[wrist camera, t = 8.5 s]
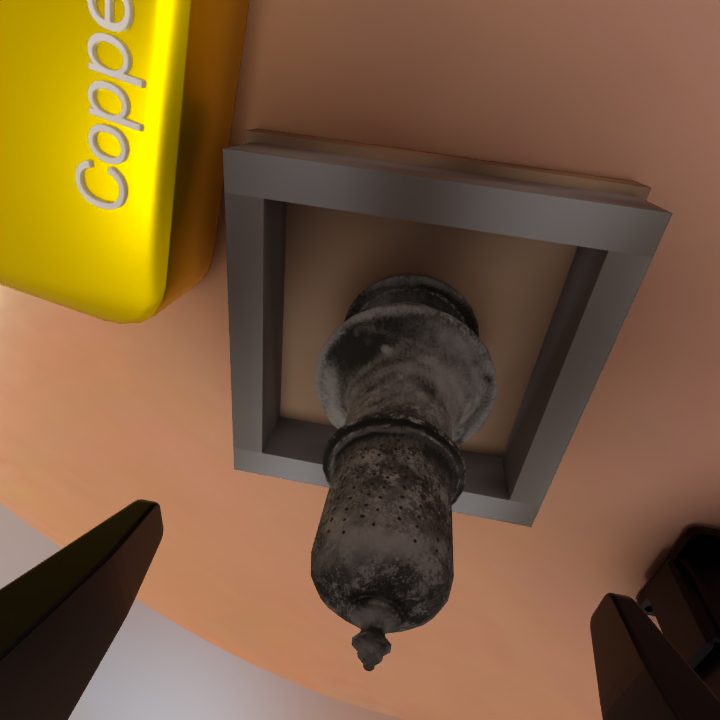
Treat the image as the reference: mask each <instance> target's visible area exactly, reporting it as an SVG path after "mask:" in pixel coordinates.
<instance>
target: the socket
mask: <svg viewBox="0 0 720 720" xmlns="http://www.w3.org/2000/svg"><path fill="white" fill-rule="evenodd" d="M223 164H224V192H225V220H226V249H227V277H228V305H229V334H230V362H231V390H232V419H233V447H234V469H236V470H241V471H246V472H251V473H256V474H261V475H267V476H272V477H277V478H282V479H287V480H292V481H297V482H303V483H308V484H313V485H318V486H323V487H328V488H329V487H330V486H329V484H328V483H327V481H326V478H325V475H324V472H323V453H324V451H325V448H326V446H327V443H328V440H329V439H330V438H331V437H332V436H333V435H334V433H335V432H336V431H337V430H338V429H337V428H336V427H335V426H334V425H333V424H332V423H331V422H330V420H329V418H328V417H327V415H326V413H325V412H324V410H323V409H322V407H321V405H320V402H319V398H318V395H317V392H316V388H315V367H316V364H317V361H318V358H319V355H320V352H321V349H322V346H323V345H324V344H325V342H326V341H327V340H328V338H329V337H330V335H331V334H332V333H333V331H334V330H335V329H336V328H337V327H339V326H340V325H341V324H343V323H344V321H345V318H346V315H347V312H348V309H349V307H350V306H351V305H352V303H353V302H354V300H355V299H356V298H357V296H358V295H359V294H360V293H361V292H363V291H364V290H365V289H366V288H368V287H369V286H370V285H372V284H373V283H375V282H378V281H380V280H382V279H385V278H387V277H390V276H397V275H404V274H414V275H423V276H429V277H432V278H434V279H437V280H439V281H442V282H445V283H446V284H448V285H449V286H451V287H452V288H453V289H455V290H456V291H458V292H459V293H460V294H461V295H462V296H463V298H464V299H465V300H466V301H467V302H468V304H469V305H470V306H471V308H472V310H473V313H474V315H475V317H476V320H477V322H478V330H479V339H480V340H481V341H482V342H483V344H484V345H485V346H486V347H487V349H488V351H489V354H490V356H491V359H492V361H493V364H494V366H495V368H496V379H497V394H496V398H495V402H494V406H493V410H492V412H491V414H490V415H489V417H488V418H487V420H486V422H485V423H484V425H483V426H482V428H481V429H480V430H479V431H478V432H477V433H475V434H474V435H473V436H472V437H471V438H470V439H469V440H468V441H467V442H465V443H463V444H461V445H459V446H458V448H459V450H460V452H461V454H462V456H463V458H464V460H465V467H466V474H467V478H466V482H465V486H464V490H463V492H462V494H461V495H460V497H459V498H458V500H457V501H456V503H454V504H453V505H452V512H457V513H462V514H467V515H472V516H477V517H482V518H488V519H493V520H498V521H503V522H508V523H513V524H518V525H523V526H529V527H531V526H532V524H533V522H534V519H535V517H536V515H537V513H538V511H539V508H540V506H541V504H542V502H543V499H544V497H545V495H546V493H547V491H548V488H549V486H550V484H551V482H552V480H553V477H554V475H555V473H556V471H557V468H558V466H559V464H560V462H561V460H562V457H563V455H564V453H565V451H566V448H567V446H568V444H569V442H570V440H571V437H572V435H573V433H574V431H575V429H576V426H577V424H578V422H579V420H580V417H581V415H582V413H583V411H584V409H585V406H586V404H587V402H588V400H589V397H590V395H591V393H592V391H593V389H594V386H595V384H596V382H597V380H598V378H599V375H600V373H601V371H602V369H603V366H604V364H605V362H606V360H607V358H608V355H609V353H610V351H611V349H612V346H613V344H614V342H615V340H616V338H617V335H618V333H619V331H620V329H621V327H622V324H623V322H624V320H625V318H626V315H627V313H628V311H629V309H630V307H631V304H632V302H633V300H634V298H635V295H636V293H637V291H638V289H639V287H640V284H641V282H642V280H643V278H644V276H645V273H646V271H647V269H648V267H649V264H650V262H651V260H652V258H653V256H654V253H655V251H656V249H657V247H658V244H659V242H660V240H661V238H662V236H663V233H664V231H665V229H666V227H667V225H668V222H669V220H670V218H671V216H672V213H670V212H668V211H666V210H664V209H662V208H660V207H658V206H656V205H654V204H652V203H650V202H647V201H646V199H647V196H648V194H649V192H650V189H651V188H650V187H648V186H645V185H643V184H640V183H638V182H633V181H626V180H619V179H612V178H605V177H598V176H591V175H583V174H576V173H569V172H562V171H555V170H548V169H541V168H534V167H526V166H519V165H512V164H505V163H498V162H491V161H484V160H477V159H469V158H462V157H455V156H448V155H441V154H434V153H427V152H420V151H412V150H405V149H398V148H391V147H384V146H377V145H370V144H363V143H355V142H348V141H341V140H334V139H327V138H320V137H313V136H306V135H298V134H291V133H284V132H277V131H270V130H263V129H252V130H245V144H242V145H237V146H233V147H228V148H224V149H223Z"/></svg>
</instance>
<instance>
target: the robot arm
mask: <svg viewBox="0 0 720 720" xmlns="http://www.w3.org/2000/svg"><path fill="white" fill-rule="evenodd" d="M162 536H163V522H162V516H161V510H160V505H159V504H158V503H157V502H153V501H148V500H142V499H140V500H137V501H135V502H133V503H131V504H130V505H128V506H127V507H125V508H124V509H122V510H121V511H119V512H118V513H116V514H115V515H113V516H112V517H110V518H108V519H107V520H105V521H104V522H102V523H101V524H99V525H98V526H96V527H95V528H93V529H92V530H90V531H89V532H87V533H86V534H84V535H83V536H81V537H79V538H78V539H76V540H75V541H73V542H72V543H70V544H69V545H67V546H66V547H64V548H63V549H61V550H60V551H58V552H57V553H55V554H54V555H52V556H51V557H49V558H47V559H46V560H44V561H43V562H41V563H40V564H38V565H37V566H36V567H34V568H32V569H31V570H29V571H28V572H26V573H24V574H23V575H21V576H20V577H18V578H17V579H15V580H14V581H12V582H11V583H9V584H8V585H6V586H5V587H3V588H2V589H0V720H68V718H69V716H70V715H71V713H72V711H73V710H74V708H75V706H76V704H77V703H78V701H79V699H80V697H81V696H82V694H83V692H84V690H85V689H86V687H87V685H88V683H89V681H90V680H91V678H92V676H93V675H94V673H95V671H96V669H97V668H98V666H99V664H100V662H101V661H102V659H103V657H104V655H105V654H106V652H107V650H108V648H109V647H110V645H111V643H112V641H113V640H114V638H115V636H116V634H117V633H118V631H119V629H120V627H121V626H122V624H123V622H124V620H125V618H126V616H127V614H128V612H129V610H130V608H131V606H132V604H133V602H134V600H135V598H136V595H137V593H138V591H139V589H140V586H141V584H142V582H143V580H144V577H145V575H146V573H147V571H148V568H149V566H150V564H151V562H152V560H153V557H154V555H155V553H156V551H157V548H158V546H159V544H160V542H161V539H162ZM647 615H651V616H656V618H657V621H658V623H659V626H660V628H661V630H662V632H661V631H660V630H659V629H658V628H657V626H656V625H655V624H654V623H653V622H652V620H651V619H650V618H649V617H648V616H647ZM590 629H591V637H592V645H593V652H594V660H595V667H596V675H597V682H598V690H599V698H600V705H601V711H602V717H603V720H720V531H719V530H714V529H709V528H704V527H693V528H691V529H688V530H687V531H686V532H685V533H684V535H683V536H682V538H681V539H680V541H679V542H678V543H677V545H676V546H675V548H674V549H673V550H672V552H671V553H670V555H669V556H668V557H667V559H666V560H665V562H664V563H663V564H662V566H661V567H660V569H659V570H658V571H657V573H656V574H655V576H654V577H653V578H652V580H651V581H650V583H649V584H648V585H647V587H646V588H645V590H644V591H643V593H642V594H641V595H640V597H639V598H638V600H637V603H636V602H635V601H634V600H633V599H632V598H631V597H628V596H625V595H620V594H615V593H608V594H606V595H605V596H604V598H603V599H602V601H601V602H600V604H599V606H598V607H597V609H596V610H595V612H594V613H593V615H592V617H591V622H590Z"/></svg>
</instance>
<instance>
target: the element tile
mask: <svg viewBox="0 0 720 720" xmlns="http://www.w3.org/2000/svg"><path fill="white" fill-rule="evenodd" d="M248 6H249V0H0V285H3V286H6V287H9V288H12V289H15V290H18V291H21V292H23V293H26V294H29V295H32V296H35V297H38V298H41V299H44V300H47V301H49V302H52V303H55V304H58V305H61V306H64V307H67V308H70V309H73V310H75V311H78V312H81V313H84V314H87V315H90V316H93V317H96V318H99V319H102V320H104V321H109V322H114V323H119V324H127V323H141V322H143V321H145V320H147V319H149V318H151V317H153V316H155V315H156V314H158V313H159V312H160V311H162V310H163V309H164V308H166V307H167V306H168V305H170V304H171V303H172V302H174V301H175V300H176V299H178V298H179V297H180V296H182V295H183V294H184V293H186V292H187V291H188V290H190V289H191V288H192V287H194V286H195V285H196V284H198V283H199V282H200V281H201V279H202V278H203V277H204V275H205V274H206V272H207V271H208V269H209V267H210V264H211V261H212V257H213V253H214V246H215V239H216V232H217V225H218V218H219V211H220V204H221V197H222V190H223V183H224V164H223V149H224V148H228V147H229V140H230V133H231V126H232V119H233V112H234V105H235V98H236V91H237V84H238V76H239V69H240V62H241V55H242V48H243V41H244V34H245V27H246V20H247V13H248Z"/></svg>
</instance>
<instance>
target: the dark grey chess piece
mask: <svg viewBox="0 0 720 720" xmlns="http://www.w3.org/2000/svg"><path fill="white" fill-rule="evenodd" d="M315 388H316V392H317V395H318V398H319V402H320V405H321V407H322V409H323V410H324V412H325V413H326V415H327V417H328V418H329V420H330V422H331V423H332V424H333V425H334V426H335V427H336V428H337V429H338V430H337V431H336V432H335V433H334V435H333V436H332V437H331V438H330V439H329V440H328V443H327V446H326V448H325V451H324V453H323V472H324V475H325V478H326V481H327V483H328V484H329V486H330V487H329V491H328V494H327V498H326V502H325V505H324V509H323V512H322V516H321V519H320V523H319V526H318V530H317V534H316V537H315V541H314V544H313V548H312V551H311V577H312V580H313V582H314V585H315V587H316V589H317V591H318V594H319V596H320V598H321V599H322V601H323V602H324V603H325V604H326V606H327V607H328V608H329V609H331V610H332V611H333V612H334V613H336V614H337V615H338V616H340V617H341V618H342V619H344V620H345V621H347V622H349V623H351V624H353V625H355V626H357V627H358V628H360V629H361V632H360V633H358V634H357V635H355V636H354V637H353V638H352V646H353V647H354V648H355V649H356V650H357V651H358V652H357V654H358V658H359V659H360V660H361V662H362V663H363V667H364V669H365V670H367V671H372V670H373V669H374V667H375V665H377V664H379V663H380V662H381V661H382V659H383V656H384V655H386V654H388V653H390V650H391V644H390V642H389V641H388V640H387V639H386V638H385V633H394V632H402V631H406V630H409V629H413V628H416V627H419V626H422V625H424V624H425V623H427V622H429V621H430V620H432V619H433V618H434V617H435V616H436V614H437V613H438V612H439V611H440V610H441V609H442V607H443V606H444V605H445V604H446V602H447V601H448V598H449V594H450V590H451V586H452V582H453V577H454V570H453V536H452V505H453V504H454V503H456V501H457V500H458V498H459V497H460V495H461V494H462V492H463V490H464V486H465V482H466V478H467V474H466V467H465V460H464V458H463V456H462V454H461V452H460V450H459V448H458V446H459V445H461V444H463V443H465V442H467V441H468V440H469V439H470V438H471V437H472V436H473V435H474V434H475V433H477V432H478V431H479V430H480V429H481V428H482V426H483V425H484V423H485V422H486V420H487V418H488V417H489V415H490V414H491V412H492V410H493V406H494V402H495V398H496V394H497V379H496V368H495V366H494V364H493V361H492V359H491V356H490V354H489V351H488V349H487V347H486V346H485V345H484V344H483V342H482V341H481V340H480V339H479V330H478V322H477V320H476V317H475V315H474V313H473V310H472V308H471V306H470V305H469V304H468V302H467V301H466V300H465V299H464V298H463V296H462V295H461V294H460V293H459V292H458V291H456V290H455V289H453V288H452V287H451V286H449V285H448V284H446V283H445V282H442V281H439V280H437V279H434V278H432V277H429V276H423V275H414V274H404V275H397V276H390V277H387V278H385V279H382V280H380V281H378V282H375V283H373V284H372V285H370V286H369V287H368V288H366V289H365V290H364V291H363V292H361V293H360V294H359V295H358V296H357V298H356V299H355V300H354V302H353V303H352V305H351V306H350V307H349V309H348V312H347V315H346V318H345V321H344V323H343V324H341V325H340V326H339V327H337V328H336V329H335V330H334V331H333V333H332V334H331V335H330V337H329V338H328V340H327V341H326V342H325V344H324V345H323V346H322V349H321V352H320V355H319V358H318V361H317V364H316V367H315Z"/></svg>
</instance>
